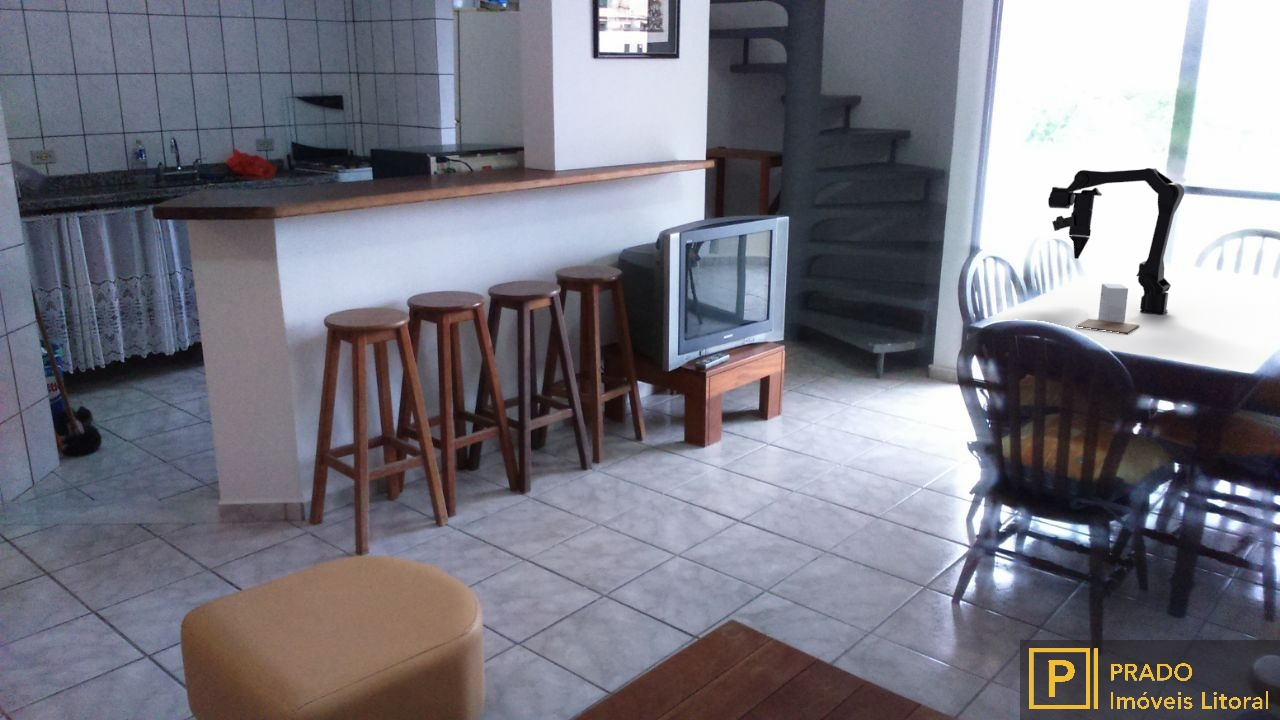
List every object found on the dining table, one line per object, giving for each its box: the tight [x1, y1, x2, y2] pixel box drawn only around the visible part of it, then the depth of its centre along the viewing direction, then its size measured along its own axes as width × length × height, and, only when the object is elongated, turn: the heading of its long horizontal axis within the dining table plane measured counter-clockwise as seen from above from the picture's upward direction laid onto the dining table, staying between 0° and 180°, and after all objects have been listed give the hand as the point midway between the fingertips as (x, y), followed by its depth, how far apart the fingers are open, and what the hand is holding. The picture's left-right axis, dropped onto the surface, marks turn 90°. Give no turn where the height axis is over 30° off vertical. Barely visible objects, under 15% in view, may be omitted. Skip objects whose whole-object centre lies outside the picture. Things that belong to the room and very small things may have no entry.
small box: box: [1098, 283, 1129, 323], centre depth 297 cm, size 8×6×10 cm
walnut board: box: [1075, 318, 1140, 335], centre depth 289 cm, size 14×12×1 cm
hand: (1076, 258), depth 318 cm, fingers open, 9 cm apart
